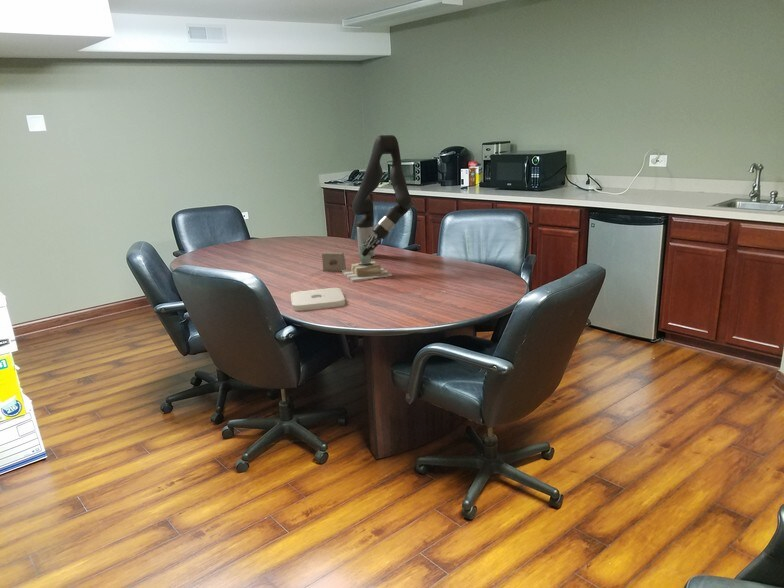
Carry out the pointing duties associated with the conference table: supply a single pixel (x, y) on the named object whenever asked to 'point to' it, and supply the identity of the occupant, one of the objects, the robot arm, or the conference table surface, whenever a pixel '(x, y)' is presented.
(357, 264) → the stand
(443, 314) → the conference table surface
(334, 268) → the fossil
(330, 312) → the conference table surface
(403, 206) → the robot arm
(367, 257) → the post
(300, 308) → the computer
